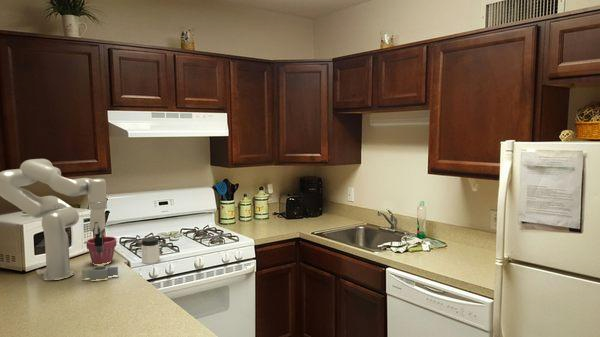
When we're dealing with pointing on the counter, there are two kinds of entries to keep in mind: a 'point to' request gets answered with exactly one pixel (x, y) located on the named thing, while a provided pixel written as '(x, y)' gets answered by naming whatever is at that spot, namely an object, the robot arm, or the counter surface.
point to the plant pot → (107, 250)
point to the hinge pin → (100, 248)
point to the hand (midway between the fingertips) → (99, 244)
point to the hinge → (99, 272)
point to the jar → (150, 250)
